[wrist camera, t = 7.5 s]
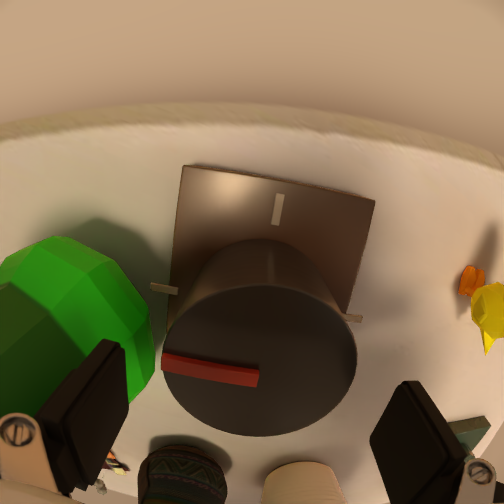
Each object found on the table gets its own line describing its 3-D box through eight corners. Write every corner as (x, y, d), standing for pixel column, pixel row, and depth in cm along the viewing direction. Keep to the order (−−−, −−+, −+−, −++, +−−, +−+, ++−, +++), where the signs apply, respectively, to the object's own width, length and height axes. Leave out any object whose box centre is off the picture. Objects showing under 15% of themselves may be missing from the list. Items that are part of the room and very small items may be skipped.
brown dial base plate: (323, 382, 19) (329, 404, 16) (158, 358, 18) (149, 378, 16) (377, 199, 15) (393, 205, 13) (174, 162, 15) (162, 162, 13)
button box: (438, 473, 23) (447, 493, 20) (384, 484, 23) (391, 508, 20) (484, 415, 21) (499, 436, 17) (430, 425, 20) (444, 451, 17)
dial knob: (341, 252, 14) (388, 304, 8) (307, 366, 16) (324, 447, 10) (200, 227, 14) (163, 268, 8) (186, 348, 16) (159, 426, 10)
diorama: (154, 479, 23) (147, 507, 19) (6, 451, 25) (-3, 466, 22) (106, 422, 20) (91, 452, 17) (-32, 403, 22) (-44, 418, 19)
